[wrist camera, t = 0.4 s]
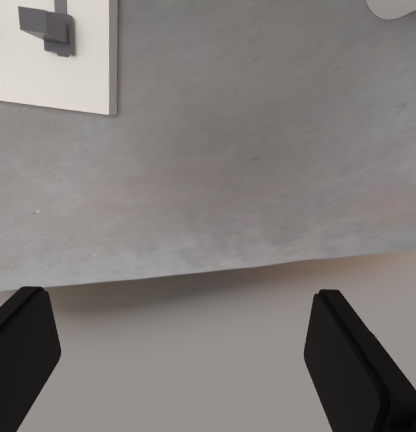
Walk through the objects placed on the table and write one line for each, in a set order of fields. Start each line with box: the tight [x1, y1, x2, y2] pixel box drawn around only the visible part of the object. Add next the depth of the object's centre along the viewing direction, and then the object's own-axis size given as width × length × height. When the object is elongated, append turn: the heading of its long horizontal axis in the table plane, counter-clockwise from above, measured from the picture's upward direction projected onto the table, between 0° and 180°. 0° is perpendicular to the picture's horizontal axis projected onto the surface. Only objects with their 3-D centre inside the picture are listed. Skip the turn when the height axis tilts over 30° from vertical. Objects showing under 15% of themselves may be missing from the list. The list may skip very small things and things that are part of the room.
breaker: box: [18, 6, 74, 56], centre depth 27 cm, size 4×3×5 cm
